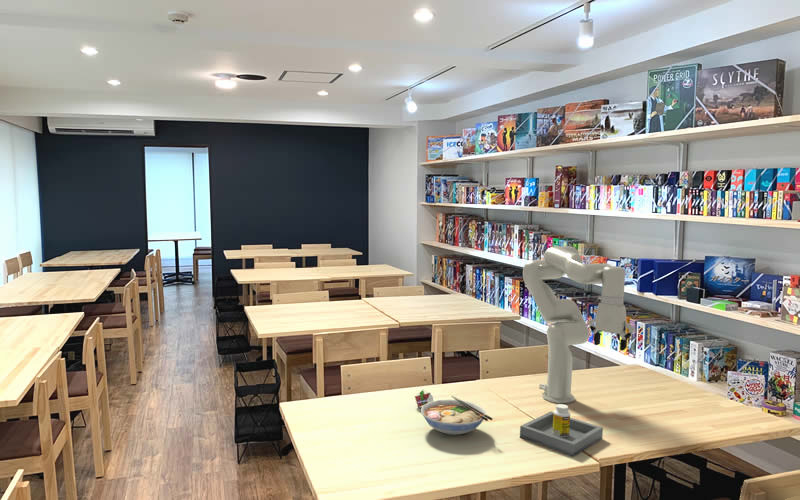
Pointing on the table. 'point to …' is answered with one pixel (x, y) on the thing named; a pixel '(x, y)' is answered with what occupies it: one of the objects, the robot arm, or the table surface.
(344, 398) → the table surface
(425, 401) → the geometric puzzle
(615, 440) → the table surface
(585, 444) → the tray
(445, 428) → the ramen bowl
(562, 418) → the supplement bottle
